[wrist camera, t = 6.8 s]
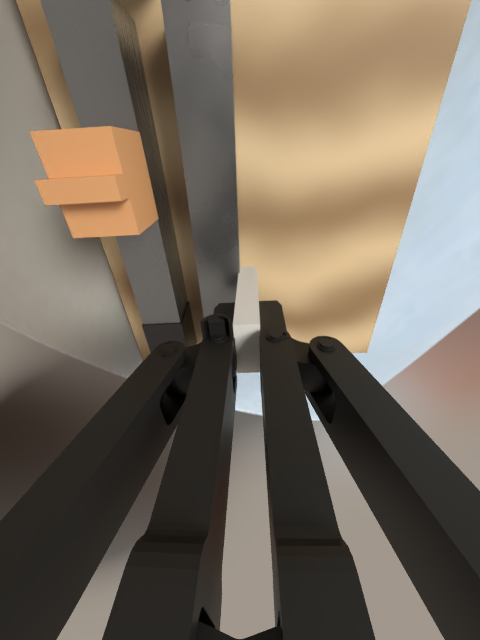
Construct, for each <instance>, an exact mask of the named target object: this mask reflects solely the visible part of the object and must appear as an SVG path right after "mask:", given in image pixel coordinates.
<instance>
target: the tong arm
mask: <svg viewBox="0 0 480 640" xmlns="http://www.w3.org/2000/svg"><path fill="white" fill-rule="evenodd" d="M161 6H162V13H163V20H164V28H165V35H166V43H167V50H168V57H169V65H170V72H171V80H172V87H173V94H174V102H175V109H176V117H177V124H178V131H179V139H180V146H181V154H182V161H183V168H184V176H185V183H186V191H187V198H188V205H189V213H190V220H191V228H192V235H193V242H194V250H195V257H196V264H197V272H198V279H199V287H200V294H201V301H202V309H203V316H204V318H205V317H207V316H209V315H213V312H214V308H215V307H216V306H217V305H218V304H219V303H235V300H236V291H237V282H238V273H240V249H239V221H238V192H237V164H236V136H235V108H234V79H233V51H232V23H231V3H230V0H161Z"/></svg>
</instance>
